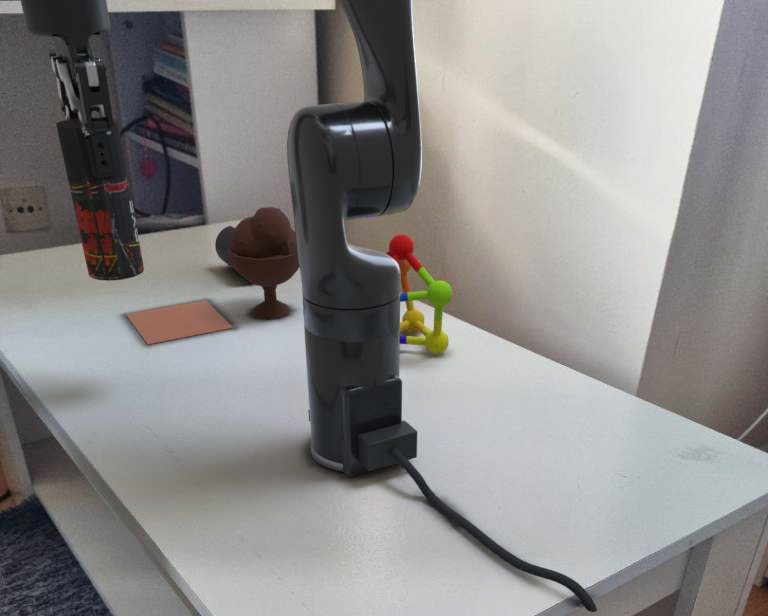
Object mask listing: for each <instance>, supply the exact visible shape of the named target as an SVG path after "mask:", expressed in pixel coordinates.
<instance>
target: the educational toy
mask: <svg viewBox="0 0 768 616" xmlns="http://www.w3.org/2000/svg"><path fill="white" fill-rule="evenodd" d="M414 244H415V243H414V241H413V240H412V238H411V237H410V236H408V235H407V234H403V233H401V234H396V235H395V236H393V237H392V238H391V239H390V242H389V244H388V251H386V252H384V253H385V254H387V255H389V256H390V257H392V258H393V259H395V260H396V262H397V263H398V265H399V268H400V274H401V289H402V292H400V303H404V302H405V306H406V312H405V313H403V316H402V318H401V321H400V332H402V331H404V330H406V331H407V332H410V333H416V332H420V333H421V334H422V335H423V336H411V335H400V345H413V346H414V345H416V346H425V348H426V350H427V351H428V352H430V353H432V354H434V355H438V354H439V355H440V354H442V353H444V352H445V351H446V350H447V349H448V347H449V344H450V343H449V342H450V340H449V336H448V334H447V332H445V331H444V330H443V329H442V328H443V314H444V313H443V312H444V311H443V310H444V307H445V306H446V305H448V304H449V303H450V301H451V300H452V297H453V289H452V287H451V285H450V284H449V283H448V282H447V281H445V280H442V279H441V280H434V278H433V277H432V276H431V275H430V274H429V272H428V271H427V270H426V269H425V268H424V266H423V265H422V264H421V262H420V261H419V260H418V258H416V257H415V255H414V254H413V253H414V249H415V246H414ZM411 268H412V269H413V270H414V271H415V273H416V274H417V275H418V276H419V278H420V279H421V280H422V281H423V282H424V284H425V285H426V286H427V290H419V291H412V290H411V287H410V282H409V278H408V274H407V273H408V272H409V271H410V270H411ZM422 300H428V302H429V303H430V304H431V305H432V306H434V310H433V311H434V314H433V329H432V330H430V328H429V327H427V326H426V325H425V320H426V319H425V316H424V313H423V312H422V311H421V310H419V309H417V308H415V305H414V301H422Z"/></svg>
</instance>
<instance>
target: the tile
mask: <svg viewBox="0 0 768 616" xmlns="http://www.w3.org/2000/svg"><path fill="white" fill-rule="evenodd" d="M125 316H126V318H128V320H129V321H130V323H131V324H132V325H133V327H134V328H135V329H136V330H137V332H138V333H139V335H140V336H141V337H142V338H143V340H144V341H145V343H146V344H147V345H148V346H150V345H155V344H159V343H164V342H169V341H170V342H171V341H175V340H180V339H185V338H191V337H196V336H200V335H207V334H210V333H215V332H221V331H226V330H230V329H231V330H232V329H234V327H233V326H232V325H231V324H230V322H228V321H227V320H226V318H225V317H223V315H222V314H221V313H219V312H218V311H217V310H216V309H215V307H213V306H212V305H211V303H210V302H209V301H207V300H206V299H204V300H198V301H193V302H187V303H182V304H176V305H171V306H165V307H160V308H154V309H149V310H142V311H138V312H131V313H126V314H125Z"/></svg>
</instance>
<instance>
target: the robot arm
mask: <svg viewBox="0 0 768 616" xmlns="http://www.w3.org/2000/svg"><path fill="white" fill-rule="evenodd" d="M337 1H338V3H339V5H340V7H341V9H342V10H343V13H344V14H345V17H346V19H347V21H348V24H349V27H350V29H351V31H352V34H353V37H354V41H355V43H356V48H357V53H358V57H359V61H360V69H361V75H362V83H363V100H361V101H360V100H359V101H348V102H335V103H326V104H325V103H323V104H313V105H307V106H304V107H303V106H302V107H300V108H299V109H298V110H297V111H296V112H295V113H294V114H293V116H292V118H291V120H290V121H289V122H290V123H289V126H288V130H287V131H288V132H287V138H286V139H287V140H286V158H287V159H286V161H287V169H288V171H287V173H288V179H289V180H288V181H289V188H290V196H291V204H292V212H293V222H294V231H295V234H296V247H297V255H298V261H299V273H300V279H301V293H302V309H303V324H304V325H303V328H304V329H303V330H304V345H305V360H306V377H307V392H308V393H307V394H308V409H307V410H308V421H309V424H310V438H311V439H310V453H311V456H312V458H313V459H314V460H315V461H316V462H317V463H318V464H320V465H321V466H323V467H324V468H327V469H330V470H333V471H337V472H342V473H344V474H345V476H346V477H350V478H351V477H354V476H358V475H362V474H365V473H367V472H371V471H376V470H379V469H382V468H385V467H389V466H393V465H396V464H398V465H400V467H401V468H403V470H404V471H405V472H406V473H407V474H408V475H409V476H410V478H411V479H412V480H413V481H414V483H415V484H416V486H417V487H418V489H419V491H420V492H421V494H422V495H423V496H424V497H425V499H427V501H428V502H429V503H430V504H431V505H432V506H434V508H435V509H436V510H437V511H438V512H440V513H441V514H442V515H444V516H445V517H447V518H448V519H449V520H451V521H452V522H453V523H455V524H456V525H458V526H459V527H460V528H462V529H463V530H464V531H466V533H468V534H469V535H470V536H472V537H473V538H474V539H476V540H477V541H478V542H479V543H480V544H481V545H482V546H484V547H485V548H486V549H488V550H489V551H490V552H491V553H493V554H494V555H496V556H497V557H498V558H500V559H501V560H503V561H504V562H505V563H507V564H509V565H510V566H512V567H513V568H515V569H517V570H519V571H522V572H523V573H526V574H529V575H532V576H535V577H538V578H541V579H545V580H549V581H552V582H555V583H557V584H559V585H561V586H563V587H565V588H566V589H567V590H569V591H570V592H571V593H573V594H574V595H575V597H577V599H578V600H579V601H580V602H581V604H582V606H583V607H584V609H586V610H587V611H588V612H591V613H596V612H597V611H598V607H597V605H596V604H595V602H594V600H593V599H592V596H590V594H589V593H588V592H587V590H586V589H585V588H584V587H583V586H582V585H581V584H580V583H579V582H578V581H576V580H574V578H571V577H570V576H568V575H566V574H563V573H561V572H558V571H556V570H552V569H549V568H546V567H542V566H539V565H535V564H532V563H530V562H527V561H525V560H524V559H521V558H520V557H518V556H516V555H515V554H513V553H511V552H510V551H508V550H507V549H505V548H504V547H502V546H501V545H500V544H499V543H497V542H496V541H495V540H494V539H492V538H491V537H490V536H488V535H487V533H485V532H483V531H482V530H481V529H480V528H478V527H477V526H476V525H475V524H473V523H472V522H471V521H470V520H468V519H467V518H465V517H464V516H463V515H461V514H459V513H458V512H457V511H455V510H454V509H452V508H451V507H450V506H449V505H448V504H446V503H445V502H444V501H442V500H441V499H440V497H438V495H436V493H434V491H433V490H432V489H431V488H430V486H429V485H428V483H427V481H426V480H425V478H424V477H423V475H422V474H421V473H420V472H419V471H418V469H417V468H416V467H415V466H414V465H413V463H412V462H410V461H409V460H412V459H413V460H414V459H416V458H417V457H418V431H417V429H415V428H414V427H413V426H412V425H411V424H410V423H408V422H407V421H406V420H403V380H402V379H401V378H400V350H401V349H400V347H401V346H400V345H401V344H400V336H401V335H400V334H401V331H400V323H401V302H400V293H401V292H402V291H401V289H402V286H401V274H400V268H399V265H398V263H397V262H396V260H395V259H393V258H392V257H390V256H389V255H387V254H385V253H386V252H383V251H380V250H377V249H373V248H370V247H366V246H360V245H356V244H353V243H351V242H349V241H347V235H346V229H345V228H346V227H345V222H346V221H354V220H361V219H370V218H375V217H384V216H389V215H396V214H399V213H402V212H405V211H406V210H409V208H410V207H412V205H413V204H414V203H415V201H416V198H417V195H418V192H419V189H420V185H421V178H422V177H421V176H422V166H423V143H422V127H421V113H420V111H421V110H420V100H419V90H418V89H419V86H418V76H417V62H416V49H415V37H414V36H415V35H414V19H413V18H414V17H413V0H337ZM20 4H21V8H22V9H21V10H22V13H23V18H24V21H25V27H26V29H27V31H28V33H30V34H31V35H32V36H36V37H46V38H47V37H48V38H49V37H50V38H51V37H52V38H53V45H54V49H53V48H52V49H48V59H49V60H50V63H51V68H52V71H53V75H54V80H55V84H56V88H57V93H58V97H59V101H60V105H61V106H60V109H61V112H62V113H63V115H64V116H65V120H69V119H76V118H79V119H80V123H81V130H82V133H83V134H84V136H85V142H86V147H87V152H88V157H89V162H90V167H91V172H92V174H93V175H94V176H95V177H96V178H103V177H112V176H114V175H115V172H116V171H115V166H114V160H113V155H112V149H111V144H110V138H109V135H111V131H114V126H115V125H114V121H113V119H114V118H113V112H112V103H111V97H110V91H109V85H108V77H107V66H106V65H105V63H104V61H103V60H101V57H100V56H96V55H95V53H94V49H93V45H92V43H91V37H92V36H96V35H97V36H99V35H105V34H107V33H109V32H110V31H111V27H112V26H111V20H110V15H109V9H108V3H107V0H20ZM94 112H97V113H98V115H99V117H100V118H91V117H95V115H94Z"/></svg>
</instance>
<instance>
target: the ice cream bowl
mask: <svg viewBox="0 0 768 616" xmlns="http://www.w3.org/2000/svg"><path fill="white" fill-rule="evenodd" d="M234 228H235V229H234V230H233V232H232V235H231V238H230V246H229V247H228V248H227V249H226V252H227V255H228V259H229V261H230V263H231V265H232V266H233V268H234V270H235V271H236V272H237V273H238V274H239V275H240V276H241V277H243V278H244V279H245V280H247V282H250V283H251V284H254V285H255V286H259V287H261V288H262V290H263V301H261V302H260V303H258V304H257V305H255V306H254V308H253V310H252V315H253V316H254V317H256V318H257V319H263V320H275V319H278V320H279V319H281V318H285V317H287V316H289V315H290V313H291V308H290V306H288V305H287V304H286V303H284V302H282V301H280V300H278V299H277V291H276V290H277V288H278V286H279V285H282V284H285V283H286V282H287V281H289V280H290V279H292V277H294V275H296V273H297V272H298V270H300V267H299V261H298V255H297V247H296V234H295V229H293V228H292V225H291V221H290V220H289V217H288V216H287V215H286V214H285V213H284V212H283V211H282V209H280V208H278V207H273V206H271V207H270V206H267V207H266V206H265V207H261V208H258V209H257V210H256V211H255V213H254V214H253V216H249V217H245V218H244V219H242V220H241V221H240V222H238V224H237V225H236V226H235V227H234ZM233 268H232V269H233Z"/></svg>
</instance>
